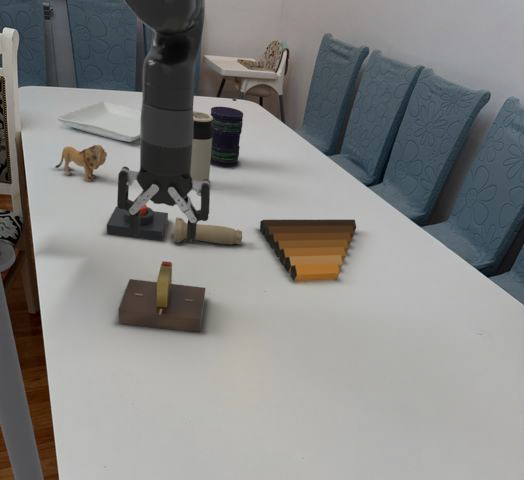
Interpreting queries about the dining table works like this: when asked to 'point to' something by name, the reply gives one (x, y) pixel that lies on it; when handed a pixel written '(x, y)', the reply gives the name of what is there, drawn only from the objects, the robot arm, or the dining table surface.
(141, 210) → the button
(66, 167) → the lion figurine
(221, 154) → the storage jar
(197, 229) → the handle
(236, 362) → the dining table surface
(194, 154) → the travel mug
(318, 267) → the pan flute
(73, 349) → the dining table surface
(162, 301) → the lock knob
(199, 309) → the panel
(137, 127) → the square plate
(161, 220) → the button housing
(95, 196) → the dining table surface
